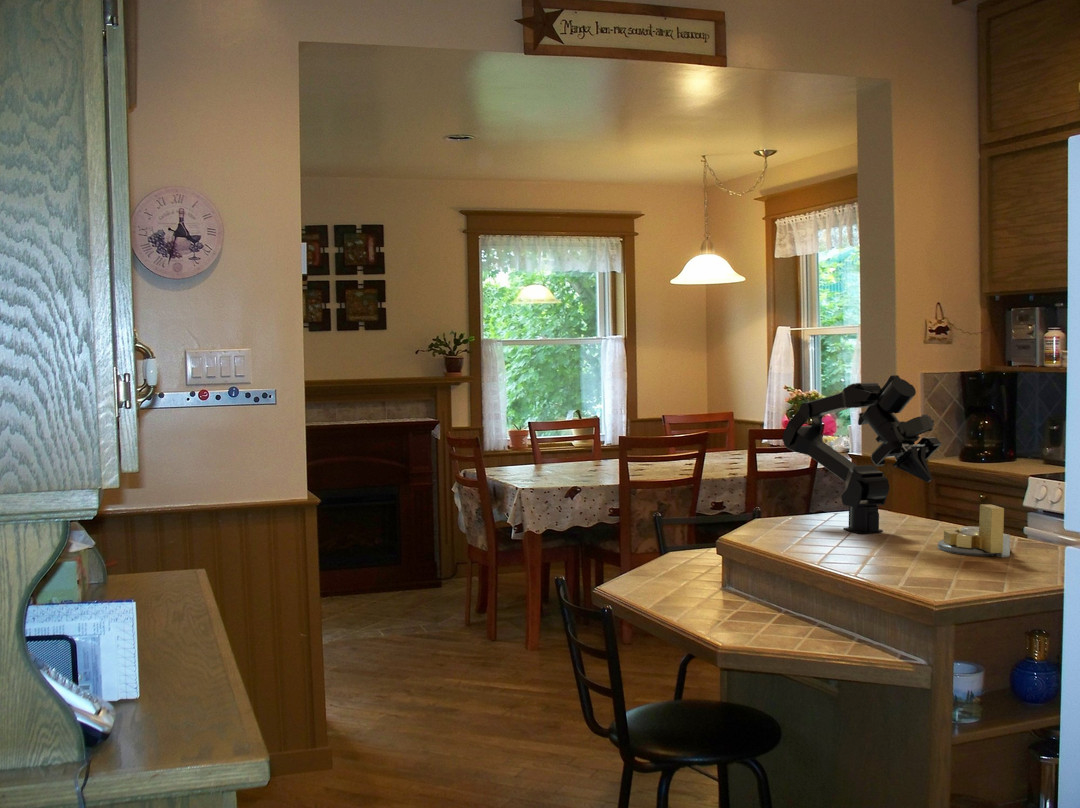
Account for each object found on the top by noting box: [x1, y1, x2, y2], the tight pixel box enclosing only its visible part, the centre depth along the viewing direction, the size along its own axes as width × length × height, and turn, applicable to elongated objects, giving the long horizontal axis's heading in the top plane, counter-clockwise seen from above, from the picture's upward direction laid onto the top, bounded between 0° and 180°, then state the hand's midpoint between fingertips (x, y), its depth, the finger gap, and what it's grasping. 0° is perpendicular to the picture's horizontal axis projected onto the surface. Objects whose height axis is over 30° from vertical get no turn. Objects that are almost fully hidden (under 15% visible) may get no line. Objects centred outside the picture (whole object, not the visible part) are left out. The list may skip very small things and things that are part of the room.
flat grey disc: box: [937, 525, 1011, 559], centre depth 216 cm, size 16×14×4 cm
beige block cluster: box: [943, 504, 1005, 553], centre depth 214 cm, size 11×16×9 cm
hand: (929, 480), depth 223 cm, fingers closed
